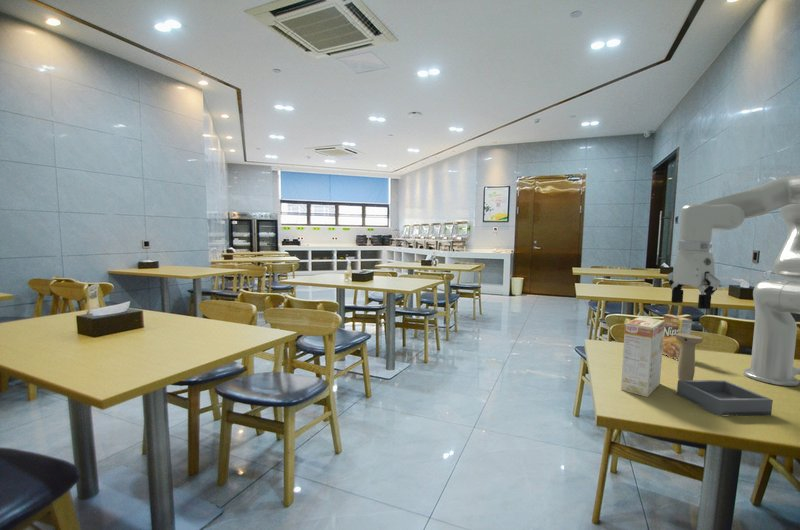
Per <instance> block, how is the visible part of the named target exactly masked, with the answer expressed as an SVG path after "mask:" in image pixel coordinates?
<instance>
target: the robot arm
mask: <svg viewBox="0 0 800 530" xmlns="http://www.w3.org/2000/svg"><path fill="white" fill-rule="evenodd" d="M778 209H780V214H781V216H782V218H783V220H784V221H783V222H784V223H785V226H786V230H787V236H786V238H785V241H784V243H783V245H782V247H781V249H780V251H779V253H778V255H777V256H776V259H775V261H774V264H773V268H772V269H773V270H772V271H773V273H774V274H775V276H778V277H779V278H783V279H764V280H762V281H759V282H757V284H755V286H754V287H753V290H752V297H753V299H752V300H753V303H754V328H753V337H752V338H753V339H752V349H751V360H750V368H746V369H745V368H744V369H743V374H744V376H745V377H748V378H750V379H753V380H756V381H758V382H759V381H760V382H763V383H766V384H767V383H768V384H773V385H778V386H786V387H794V386H798V385H799V384H800V380H799V379H798V378H796V377H795V376H796V375H798V376H799V375H800V367H798V368H797V367H795V366H794V363H795V362H794V360H795V354H796V353H795V351H796V343H797V331H798V327H797V322H796V320H795V318H794V317H793V315H792V314H798V315H800V174H797V175H792V176H791V175H789V176H785V177H784V176H783V177H780V178H779V177H777V178H776V179H773V180H771V181H768V182H765V183H763V184H760V185H758V186H755V187H751V188H749V189H746V190H742V191H739V192H736V193H731V194H728V195H725V196H721V197H718V198H713V199H710V200H707V201H704V202H702V203H699V204H698V203H695V204H686V205H684V206H683V207H681V209H680V217H679V234H678V243H677V244H678V246H677V252H676V255H675V259H674V265H673V270H672V272H670V273H667V279H668V284H669V286H670V289H671V303H672V304H673V303H674V304H675V303H676V304H677V303H678V304H682V303H683V301H684V289H683V288H684V287H685V286H687V287H693V288H694V287H695V288H697V289H698V290H699V292H700V294H698V301H697V308H698V309H701V310H703V309H704V310H709V309H711V306H712V305H711V304H712V296H713V295H714V293H715V292H716V291H718V287H719V285H720V284H721V280H720V279H718V278H717V277H716V276H715V275H716V274H715V270H716V269H715V259H714V254H713V252H711V249H712V247H713V244H712V233H713V231H714V232H715V231H718V232H719V231H730V230H735V229H737V228H739V227H740V226H741V225H742V224H743V223H744V221H745V219H749V218H756V217H760V216H761V217H762V216H764V215H766V214H768V213H769V214H770V213H771V212H773V211H776V210H778ZM792 280H793V281H792Z"/></svg>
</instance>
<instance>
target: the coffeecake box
mask: <svg viewBox="0 0 800 530" xmlns="http://www.w3.org/2000/svg"><path fill="white" fill-rule="evenodd" d="M663 334H664V320H663V319H658V318H653V317H652V318H651V317H645V316H638V317H635V318H634V319H631V320H629V321H628V322H625V323H624V337H623V338H624V339H623V350H622V351H623V353H622V369H621V370H622V372H621V386H620V391H623V392H627V393H630V394H635V395H638V396H643V397H645V398H648V397H650V396H651V394H652V393H653V392H654V391H655V390H656V388H658V387H659V385H660V384H661V373H662V371H661V370H662V361H663V360H662V359H663V354H662V347H663Z"/></svg>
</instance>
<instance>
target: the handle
mask: <svg viewBox="0 0 800 530" xmlns="http://www.w3.org/2000/svg"><path fill="white" fill-rule="evenodd" d="M675 338H676V339H677V340H679V341H680V342H681V350H680V356H679V361H678V364H677V378H678V380H694V376H695V370H696V369H695V368H696V365H695V364H696V362H695V361H696V345H699V344H701V343H703V337H702V336H698V335H694V334H691V335H689V334H682V333H677V334H675Z"/></svg>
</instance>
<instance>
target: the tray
mask: <svg viewBox="0 0 800 530" xmlns="http://www.w3.org/2000/svg"><path fill="white" fill-rule="evenodd" d="M676 395H677V396H679V397H681V398H683V399H685V400H687V401H688V402H690V403H693V404H694V405H696V406H699V407H701V408H702V409H704V410H706V411H708V412H710V413H712V414H714V415H716V416H717V415H719V416H718V417H722V416H721V415H730V416H729V417H745V416H748V417H752V416H754V417H755V416H757V417H759V416H761V417H762V416H764V417H765V416H769V417H770V416H772V411H773V401H774V400H773V399H771V398H768V397H766V396H764V395H761V394H759V393H758V392H755V391H752V390H749V389H747V388H744V387H742V386H740V385H737V384H735V383H732V382H729V381H727V380H721V379H719V380H716V379H715V380H711V379H710V380H709V379H708V380H707V379H705V380H701V379H699V380H695V379H693V380H679V379H678V380H677V388H676ZM731 415H733V416H731ZM736 415H737V416H736Z"/></svg>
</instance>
